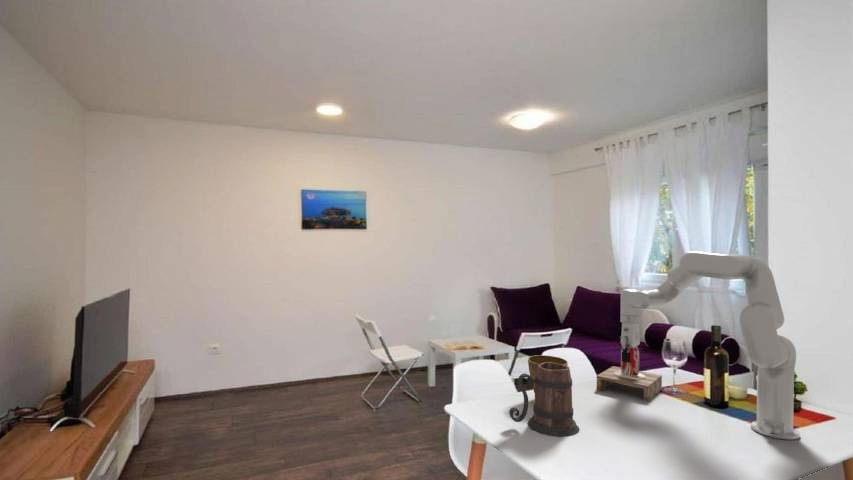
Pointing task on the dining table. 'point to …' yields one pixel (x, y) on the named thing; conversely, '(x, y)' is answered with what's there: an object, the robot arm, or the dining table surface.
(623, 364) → the soda can
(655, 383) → the stand
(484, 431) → the dining table surface
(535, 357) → the plant pot
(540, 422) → the tankard
